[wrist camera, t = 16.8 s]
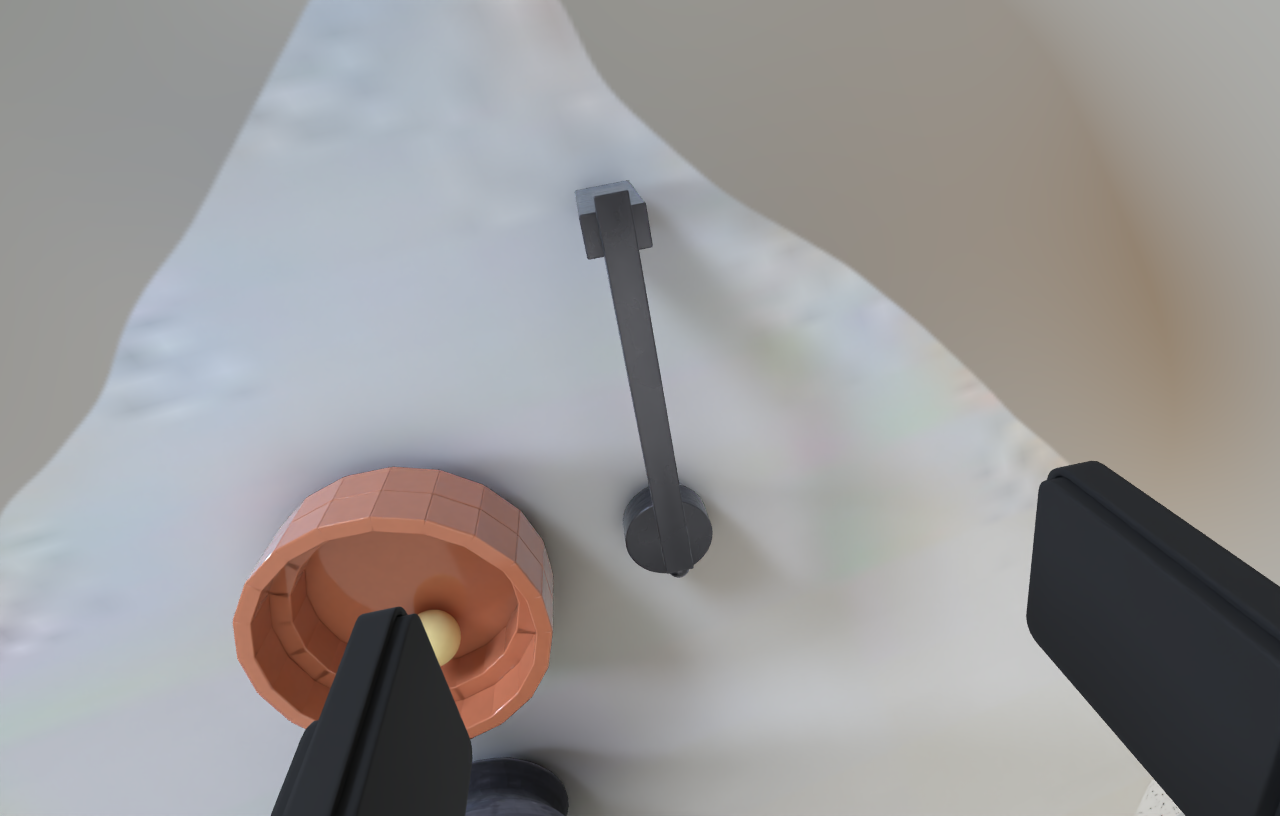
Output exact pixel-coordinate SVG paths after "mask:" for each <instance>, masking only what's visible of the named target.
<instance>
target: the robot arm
mask: <svg viewBox="0 0 1280 816" xmlns="http://www.w3.org/2000/svg"><path fill="white" fill-rule="evenodd" d="M1026 618H1027V624H1028V628H1029V630H1030V633H1031V635H1032V636H1033V638H1034V640H1035V641H1036V642H1037V644H1038V645H1039V646H1040V647H1041V648H1042V649H1043V650H1044V652H1045V653H1046V654H1047V655H1048V656H1049V657H1050V659H1051V660H1052V661H1053V662H1054V663H1055V664H1056V666H1057V667H1058V668H1059V669H1060V670H1061V671H1062V673H1063V674H1064V675H1065V676H1066V677H1067V678H1068V680H1069V681H1070V682H1071V683H1072V684H1073V685H1074V687H1075V688H1076V689H1077V690H1078V691H1079V692H1080V693H1081V695H1082V696H1083V697H1084V698H1085V699H1086V700H1087V702H1088V703H1089V704H1090V705H1091V706H1092V707H1093V709H1094V710H1095V711H1096V712H1097V713H1098V714H1099V716H1100V717H1101V718H1102V719H1103V720H1104V721H1105V723H1106V724H1107V725H1108V726H1109V727H1110V728H1111V730H1112V731H1113V732H1114V733H1115V734H1116V735H1117V736H1118V738H1119V739H1120V740H1121V741H1122V742H1123V743H1124V745H1125V746H1126V747H1127V748H1128V749H1129V750H1130V752H1131V753H1132V754H1133V755H1134V756H1135V757H1136V759H1137V760H1138V761H1139V762H1140V763H1141V764H1142V766H1143V767H1144V768H1145V769H1146V770H1147V771H1148V773H1149V774H1150V775H1151V776H1152V777H1153V778H1154V779H1155V781H1156V782H1157V783H1158V784H1159V785H1160V786H1161V788H1162V789H1163V790H1164V791H1165V792H1166V793H1167V795H1168V796H1169V797H1170V798H1171V799H1172V800H1173V802H1174V803H1175V804H1176V805H1177V806H1178V807H1179V809H1180V810H1181V811H1182V812H1183V813H1184V814H1185V816H1280V587H1279V586H1278V585H1277V584H1275V583H1273V582H1272V581H1271V580H1269V579H1268V578H1266V577H1265V576H1264V575H1262V574H1261V573H1259V572H1258V571H1256V570H1255V569H1254V568H1252V567H1251V566H1249V565H1248V564H1246V563H1245V562H1243V561H1242V560H1241V559H1239V558H1237V557H1236V556H1235V555H1233V554H1232V553H1230V552H1229V551H1228V550H1226V549H1225V548H1223V547H1222V546H1220V545H1219V544H1217V543H1216V542H1215V541H1213V540H1212V539H1210V538H1209V537H1207V536H1206V535H1204V534H1203V533H1202V532H1200V531H1199V530H1197V529H1195V528H1194V527H1193V526H1191V525H1190V524H1189V523H1187V522H1186V521H1184V520H1183V519H1181V518H1180V517H1179V516H1177V515H1176V514H1174V513H1173V512H1171V511H1170V510H1168V509H1167V508H1166V507H1164V506H1163V505H1161V504H1160V503H1158V502H1157V501H1155V500H1154V499H1153V498H1151V497H1150V496H1148V495H1147V494H1145V493H1144V492H1142V491H1141V490H1140V489H1138V488H1137V487H1135V486H1134V485H1132V484H1131V483H1129V482H1128V481H1127V480H1125V479H1124V478H1122V477H1121V476H1119V475H1118V474H1116V473H1115V472H1113V471H1112V470H1111V469H1109V468H1108V467H1106V466H1105V465H1103V464H1101V463H1099V462H1097V461H1088V462H1084V463H1078V464H1074V465H1069V466H1064V467H1059V468H1056V469H1053V470H1052V471H1051V472H1050V473H1049V475H1048V478H1047V480H1046V481H1044V482H1042V483H1041V485H1040V487H1039V492H1038V502H1037V512H1036V522H1035V533H1034V543H1033V553H1032V563H1031V573H1030V584H1029V594H1028V604H1027V614H1026ZM471 767H472V747H471V741H470V738H469V735H468V732H467V730H466V727H465V725H464V723H463V720H462V718H461V715H460V713H459V710H458V708H457V706H456V703H455V701H454V698H453V696H452V694H451V691H450V689H449V686H448V684H447V681H446V679H445V677H444V674H443V672H442V669H441V667H440V665H439V662H438V660H437V657H436V655H435V652H434V650H433V648H432V645H431V643H430V640H429V638H428V635H427V633H426V631H425V628H424V626H423V623H422V621H421V619H420V617H419V616H418V615H417V614H409V615H408V614H407V613H406V611H405V610H404V609H403V608H402V607H399V606H398V607H393V608H389V609H384V610H379V611H374V612H370V613H365V614H362V615H360V616H359V617H358V618H357V620H356V622H355V625H354V627H353V630H352V633H351V635H350V638H349V641H348V643H347V646H346V649H345V651H344V654H343V657H342V659H341V662H340V665H339V667H338V670H337V672H336V675H335V678H334V680H333V683H332V686H331V688H330V691H329V694H328V696H327V699H326V702H325V704H324V707H323V709H322V712H321V715H320V717H319V720H317V721H313V722H312V723H311V724H310V725H309V726H308V727H307V728H306V730H305V732H304V734H303V736H302V738H301V740H300V743H299V745H298V748H297V750H296V753H295V755H294V758H293V760H292V763H291V765H290V768H289V771H288V773H287V776H286V778H285V781H284V783H283V786H282V788H281V791H280V793H279V796H278V798H277V801H276V804H275V806H274V809H273V811H272V814H271V816H465V814H466V806H467V799H468V791H469V783H470V775H471Z"/></svg>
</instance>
